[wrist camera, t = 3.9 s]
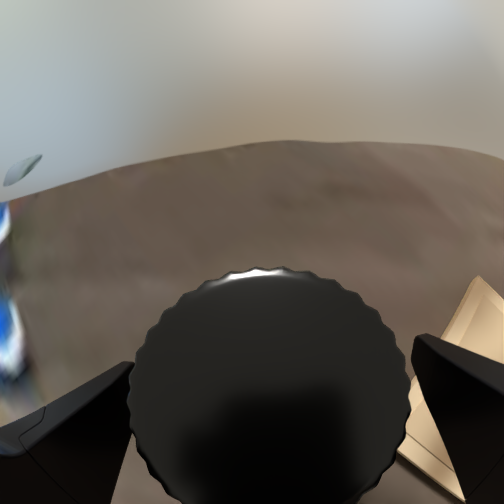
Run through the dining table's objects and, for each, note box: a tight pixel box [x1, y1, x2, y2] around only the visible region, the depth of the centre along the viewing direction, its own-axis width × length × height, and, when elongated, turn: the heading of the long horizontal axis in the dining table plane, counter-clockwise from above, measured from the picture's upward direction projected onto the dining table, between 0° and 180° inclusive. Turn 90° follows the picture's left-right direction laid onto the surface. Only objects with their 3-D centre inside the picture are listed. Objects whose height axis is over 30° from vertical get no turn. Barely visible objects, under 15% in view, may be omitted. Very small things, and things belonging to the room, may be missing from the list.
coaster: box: [397, 276, 504, 504], centre depth 11 cm, size 12×12×1 cm
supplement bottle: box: [127, 266, 412, 504], centre depth 9 cm, size 7×7×12 cm
